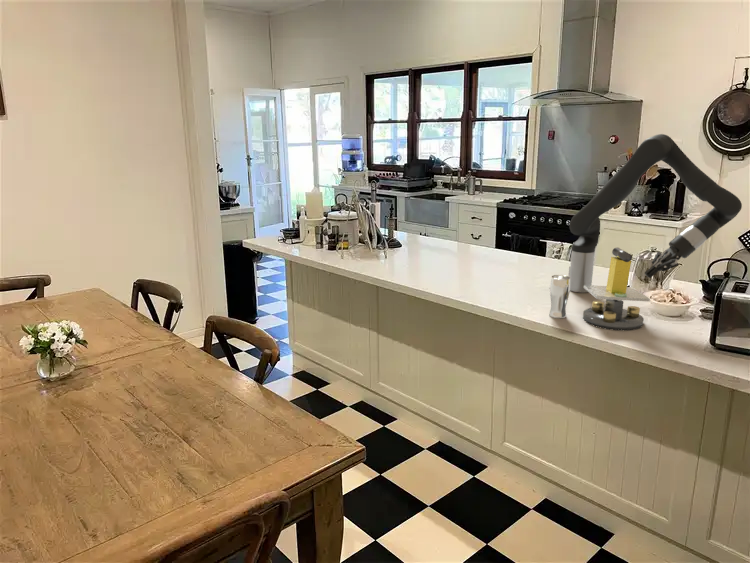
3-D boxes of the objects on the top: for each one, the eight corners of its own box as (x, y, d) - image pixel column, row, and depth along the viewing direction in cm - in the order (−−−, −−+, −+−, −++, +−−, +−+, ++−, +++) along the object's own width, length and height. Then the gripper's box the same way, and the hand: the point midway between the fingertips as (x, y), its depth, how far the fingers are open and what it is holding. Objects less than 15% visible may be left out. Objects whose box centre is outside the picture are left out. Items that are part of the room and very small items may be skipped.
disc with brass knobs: (575, 311, 209) (578, 287, 206) (629, 312, 208) (632, 287, 205) (593, 330, 189) (596, 303, 187) (652, 330, 188) (656, 304, 186)
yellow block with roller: (583, 287, 203) (589, 245, 199) (633, 290, 202) (640, 247, 198) (596, 298, 189) (603, 253, 185) (649, 301, 189) (657, 256, 184)
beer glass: (544, 313, 207) (547, 274, 203) (562, 312, 208) (566, 274, 204) (552, 319, 200) (555, 279, 196) (570, 318, 201) (574, 279, 197)
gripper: (671, 230, 195) (632, 264, 199) (690, 237, 183) (648, 273, 186) (685, 245, 196) (645, 278, 200) (704, 253, 184) (662, 288, 188)
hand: (646, 275), depth 193 cm, fingers closed
